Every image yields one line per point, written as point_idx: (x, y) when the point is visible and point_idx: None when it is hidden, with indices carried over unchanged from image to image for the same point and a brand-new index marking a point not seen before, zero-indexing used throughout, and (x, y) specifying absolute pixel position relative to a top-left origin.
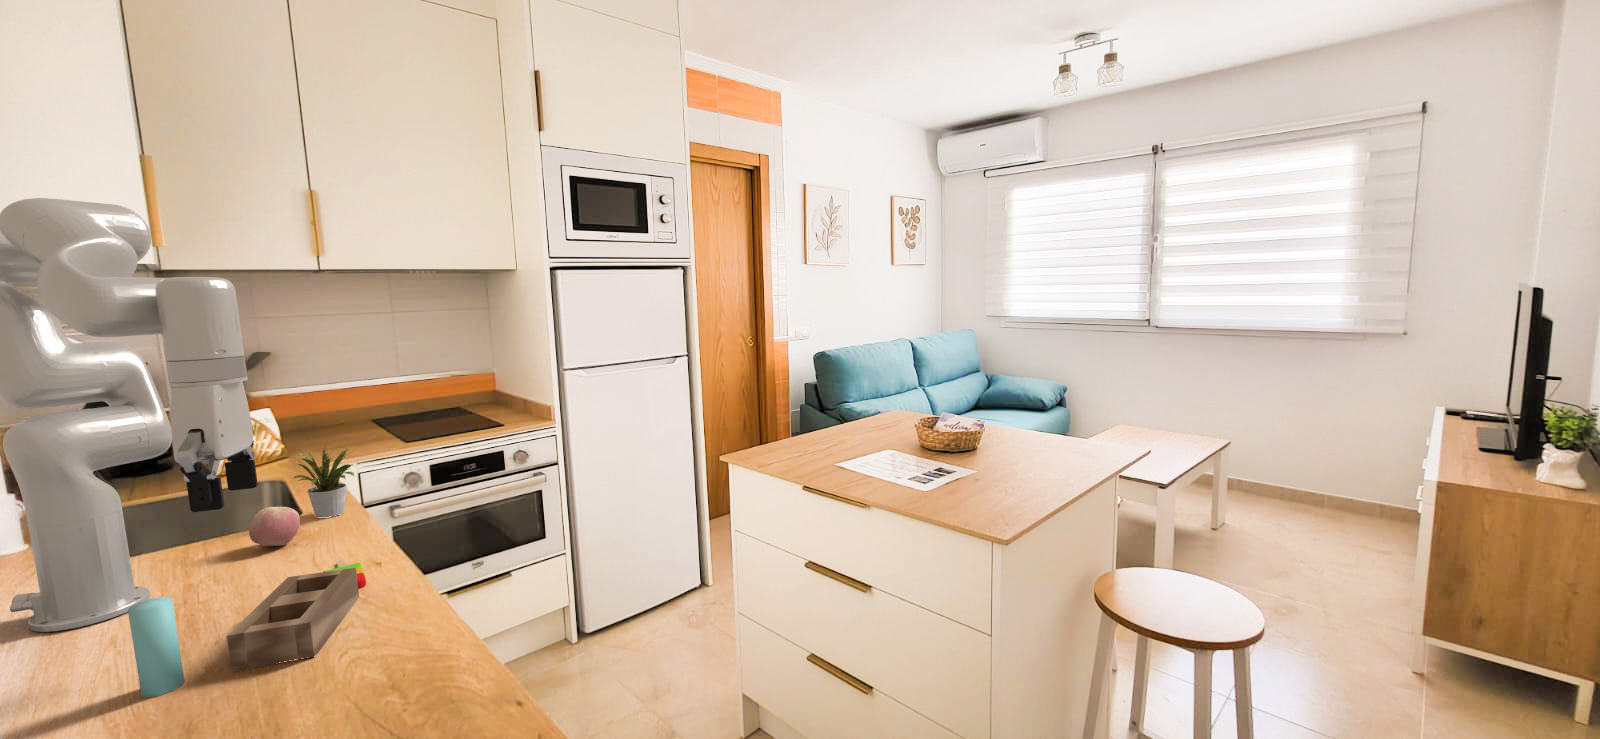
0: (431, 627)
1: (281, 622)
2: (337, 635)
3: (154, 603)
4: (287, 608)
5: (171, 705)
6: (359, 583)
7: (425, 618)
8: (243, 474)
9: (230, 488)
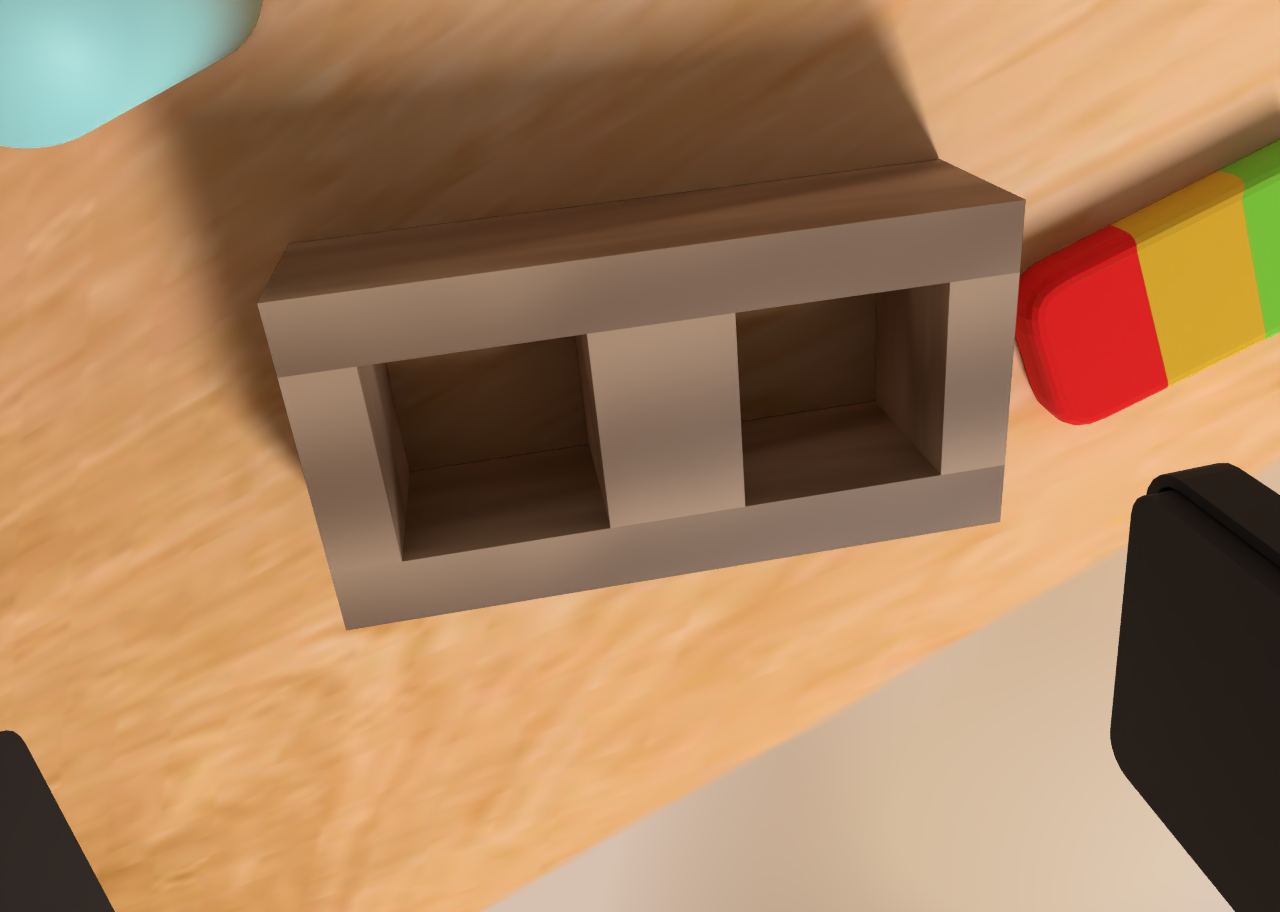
0: (524, 826)
1: (371, 499)
2: None
3: (11, 37)
4: (593, 401)
5: None
6: (1052, 411)
7: (609, 780)
8: (1274, 837)
9: (1145, 523)
